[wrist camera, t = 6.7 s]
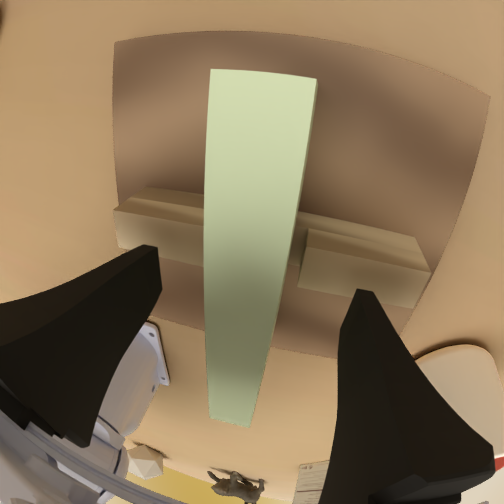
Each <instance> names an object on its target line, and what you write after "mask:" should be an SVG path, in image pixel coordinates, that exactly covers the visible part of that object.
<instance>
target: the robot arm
mask: <svg viewBox="0 0 504 504" xmlns="http://www.w3.org/2000/svg"><path fill="white" fill-rule="evenodd" d="M162 290H163V288H162V280H161V272H160V263H159V254H158V247H155V246H150V245H146V244H143V245H141V246H138V247H136V248H134V249H132V250H130V251H128V252H126V253H124V254H122V255H120V256H118V257H116V258H114V259H113V260H111V261H109V262H107V263H105V264H103V265H101V266H99V267H97V268H95V269H93V270H91V271H89V272H87V273H85V274H83V275H81V276H79V277H77V278H75V279H73V280H71V281H69V282H66V283H64V284H62V285H59V286H57V287H54V288H52V289H49V290H47V291H44V292H41V293H38V294H35V295H32V296H29V297H26V298H22V299H18V300H14V301H10V302H6V303H1V304H0V501H1V503H0V504H105V503H106V502H107V501H108V500H110V499H112V498H113V497H114V496H115V495H116V496H118V497H120V498H122V499H124V500H127V501H129V502H131V503H133V504H187V503H184V502H181V501H178V500H175V499H172V498H169V497H166V496H164V495H161V494H158V493H156V492H153V491H151V490H148V489H146V488H144V487H141V486H139V485H136V484H134V483H132V482H130V481H128V480H126V479H125V478H126V475H127V472H128V467H129V458H128V455H127V450H126V448H125V447H124V446H123V443H124V441H125V438H124V437H125V436H128V435H129V434H131V433H133V432H134V431H135V430H136V429H137V428H138V426H139V425H140V423H141V421H142V419H143V417H144V415H145V413H146V411H147V409H148V407H149V405H150V403H151V401H152V399H153V397H154V395H155V392H156V390H157V388H158V386H159V384H163V385H166V386H168V385H169V384H170V380H169V376H168V372H167V368H166V364H165V360H164V355H163V351H162V346H161V342H160V337H159V333H158V329H157V327H156V326H155V325H153V324H151V323H148V322H146V320H147V318H148V317H149V315H150V314H151V312H152V311H153V309H154V307H155V305H156V303H157V301H158V298H159V296H160V294H161V292H162ZM495 472H496V467H495V458H494V450H493V445H491V444H490V443H489V442H488V441H487V440H485V439H484V438H483V437H482V436H481V435H480V434H478V433H477V432H476V431H475V430H474V429H472V428H471V427H470V426H469V425H468V424H467V423H466V422H465V421H464V420H463V419H462V418H461V417H460V416H459V415H458V414H457V413H456V412H455V411H454V410H453V409H452V407H451V406H450V405H449V404H448V403H447V402H446V401H445V399H444V398H443V397H442V396H441V395H440V394H439V393H438V391H437V390H436V389H435V388H434V386H433V385H432V384H431V383H430V381H429V380H428V378H427V377H426V376H425V374H424V373H423V372H422V370H421V369H420V368H419V366H418V365H417V363H416V362H415V360H414V359H413V357H412V356H411V354H410V353H409V351H408V350H407V348H406V347H405V345H404V343H403V342H402V340H401V338H400V337H399V335H398V333H397V332H396V330H395V328H394V327H393V325H392V323H391V321H390V320H389V318H388V316H387V314H386V313H385V311H384V309H383V307H382V306H381V304H380V302H379V300H378V299H377V297H376V295H375V294H374V292H373V291H369V290H364V289H358V288H357V289H356V291H355V294H354V296H353V299H352V301H351V304H350V306H349V309H348V311H347V314H346V316H345V318H344V321H343V323H342V325H341V328H340V333H339V343H338V408H337V420H336V427H335V434H334V440H333V446H332V451H331V456H330V461H329V465H328V469H327V474H326V478H325V482H324V485H323V489H322V492H321V496H320V499H319V502H318V504H457V503H460V501H461V493H462V492H464V491H466V490H468V489H470V488H472V487H475V486H477V485H479V484H481V483H482V482H484V481H486V480H488V479H489V478H491V477H492V476H493V475H494V473H495ZM479 504H489V502H488V501H485V502H482V503H479Z"/></svg>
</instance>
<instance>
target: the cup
mask: <svg viewBox="0 0 504 504" xmlns="http://www.w3.org/2000/svg"><path fill="white" fill-rule="evenodd" d="M415 362H416V363H417V365H418V366H419V368H420V369H421V370H422V372H423V373H424V374H425V376H426V377H427V378H428V380H429V381H430V383H431V384H432V385H433V386H434V388H435V389H436V390H437V391H438V393H439V394H440V395H441V396H442V397H443V398H444V399H445V401H446V402H447V403H448V404H449V405H450V406H451V407H452V409H453V410H454V411H455V412H456V413H457V414H458V415H459V416H460V417H461V418H462V419H463V420H464V421H465V422H466V423H467V424H468V425H469V426H470V427H471V428H472V429H474V430H475V431H476V432H477V433H478V434H480V435H481V436H482V437H483V438H484V439H485V440H487V441H488V442H489V443H490V444H491V445H493V450H494V458H495V467H496V471H498V470H500V469H501V468H503V467H504V391H503V387H502V384H501V381H500V377H499V374H498V371H497V368H496V365H495V362H494V359H493V358H492V356H491V355H490V353H489V352H488V351H486V350H485V349H483V348H481V347H478V346H475V345H467V344H465V345H454V346H449V347H445V348H441V349H438V350H436V351H433V352H431V353H428V354H426V355H424V356H422V357H421V358H419V359H417V360H415Z"/></svg>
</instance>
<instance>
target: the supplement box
mask: <svg viewBox="0 0 504 504" xmlns="http://www.w3.org/2000/svg"><path fill="white" fill-rule="evenodd" d="M329 461H330V460H329ZM329 461H323V462H317V463H310V464H304V465H300V470H299V475H298V480H297V485H296V490H295V494H294V499H293V503H292V504H318V502H319V499H320V496H321V492H322V489H323V485H324V482H325V478H326V474H327V469H328V465H329Z"/></svg>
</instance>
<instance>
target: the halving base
mask: <svg viewBox="0 0 504 504" xmlns="http://www.w3.org/2000/svg"><path fill="white" fill-rule="evenodd" d="M211 69H228V70H246V71H259V72H270V73H279V74H287V75H295V76H301V77H308V78H314V79H317V82H318V90H317V97H316V104H315V111H314V118H313V125H312V131H311V138H310V144H309V150H308V157H307V163H306V169H305V175H304V180H303V186H302V192H301V198H300V203H299V208H298V213H297V218H296V224H295V229H294V234H293V240H292V245H291V250H290V255H289V260H288V266H287V271H286V276H285V281H284V286H283V291H282V296H281V300H280V305H279V310H278V314H277V319H276V323H275V328H274V332H273V336H272V341H271V345H270V347H275V348H279V349H284V350H289V351H294V352H300V353H305V354H310V355H316V356H322V357H328V358H334V359H338V343H339V333H340V328H341V325H342V323H343V321H344V318H345V316H346V314H347V311H348V309H349V306H350V304H351V301H352V299H353V296H354V294H355V291H356V289H357V288H358V289H364V290H369V291H373V292H374V294H375V295H376V297H377V299H378V300H379V302H380V304H381V306H382V307H383V309H384V311H385V313H386V314H387V316H388V318H389V320H390V321H391V323H392V325H393V327H394V328H395V330H396V332H397V333H398V335H400V334H401V332H402V330H403V329H404V327H405V325H406V324H407V322H408V320H409V318H410V317H411V315H412V313H413V311H414V310H415V308H416V306H417V304H418V302H419V301H420V299H421V297H422V295H423V293H424V291H425V289H426V287H427V285H428V284H429V282H430V280H431V278H432V276H433V273H434V271H435V269H436V267H437V265H438V263H439V261H440V259H441V257H442V254H443V252H444V250H445V248H446V245H447V243H448V241H449V238H450V236H451V233H452V231H453V229H454V226H455V224H456V221H457V218H458V216H459V213H460V210H461V208H462V205H463V202H464V199H465V196H466V193H467V190H468V187H469V184H470V181H471V178H472V175H473V171H474V168H475V164H476V161H477V157H478V154H479V150H480V146H481V142H482V137H483V133H484V129H485V124H486V119H487V114H488V108H489V102H490V96H489V95H487V94H486V93H484V92H482V91H480V90H478V89H476V88H474V87H472V86H470V85H468V84H466V83H463V82H461V81H459V80H457V79H455V78H452V77H450V76H448V75H446V74H443V73H441V72H438V71H436V70H433V69H431V68H428V67H425V66H423V65H420V64H417V63H414V62H411V61H409V60H406V59H402V58H399V57H396V56H393V55H390V54H386V53H383V52H379V51H375V50H372V49H368V48H364V47H360V46H355V45H351V44H346V43H341V42H336V41H331V40H326V39H320V38H313V37H306V36H299V35H290V34H280V33H268V32H251V31H202V32H185V33H173V34H163V35H155V36H148V37H141V38H134V39H129V40H123V41H118V42H115V45H114V61H113V141H114V158H115V171H116V182H117V192H118V201H119V206H118V207H116V208H115V209H114V210H113V215H114V222H115V229H116V235H117V241H118V246H119V247H120V248H124V249H125V250H126V252H128V251H130V250H132V249H134V248H136V247H138V246H141V245H143V244H146V245H150V246H155V247H158V254H159V263H160V272H161V280H162V288H163V290H162V292H161V294H160V296H159V298H158V301H157V303H156V305H155V307H154V309H153V311H152V312H151V314H150V315H152V316H155V317H158V318H162V319H165V320H168V321H172V322H175V323H178V324H182V325H185V326H189V327H192V328H196V329H200V330H203V331H205V316H204V185H205V155H206V133H207V115H208V99H209V85H210V72H211Z"/></svg>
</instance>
